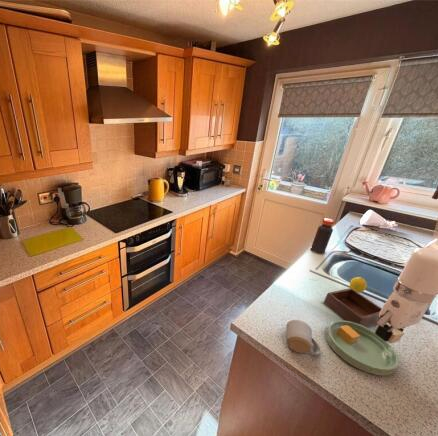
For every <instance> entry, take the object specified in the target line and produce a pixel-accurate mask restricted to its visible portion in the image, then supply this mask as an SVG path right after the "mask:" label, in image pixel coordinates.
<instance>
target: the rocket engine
mask: <svg viewBox="0 0 438 436" xmlns="http://www.w3.org/2000/svg"><path fill="white" fill-rule="evenodd" d="M359 224H360V225H363V226H370V227H377V228H380V229H387V230H391V231H394V232H395V231H396V228H395V227H398V225H399V224H397V223H396V221H395V220H393V221H387V220H386V218H384V217H382V216H381V215H380V214H378V213H377V212H375V211H374V210H372V209H368V210H367V211H366V212H364V214H363V215H362V217H361V218H360V221H359Z"/></svg>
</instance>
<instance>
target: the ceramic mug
mask: <svg viewBox="0 0 438 436" xmlns="http://www.w3.org/2000/svg"><path fill="white" fill-rule="evenodd" d="M285 328H286V330H285V331H286V332H285V333H286V334H285V335H286V338H285V339H286V344H287V346H288V348H290V349H291V350H293V352H296V353H300V354H307V353H308V354H310V355H312V356H318V355H320V353H321V347H320V345H319V343H318V342H317V340H315V339H314V338H313V331H312V330H313V329H312V328H311V327H310V325H309V324H308V323H306V322H304V321H302V320H299V319H291V320H289V321H288V322H287V323H286V327H285ZM312 346H314V348H315V351H313V350H312Z"/></svg>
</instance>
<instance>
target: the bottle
mask: <svg viewBox="0 0 438 436" xmlns="http://www.w3.org/2000/svg"><path fill="white" fill-rule="evenodd" d="M334 223H335V220H333V219H330V218H323V219H322V222H321V224H320V225H319V226H318V227H317V229H316V233H315V235H314V237H313V241H312V244H311V247H312V248H311V247H310V250H311V251H312V252H314V253H316V254H319V255H320V254H321V255H322V254H324V253H326V250H327V247H328V245H329V242H330V239H331V237H332V234H333V232H334V229H333V225H334Z"/></svg>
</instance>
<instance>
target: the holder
mask: <svg viewBox="0 0 438 436" xmlns="http://www.w3.org/2000/svg"><path fill="white" fill-rule="evenodd" d="M323 304H324V305H325V306H326V307H327V308H329V310H331V311H332V312H333V313H335V314H336V315H337V316H338V317H339V318H341V319H342V320H345V321H350V322H354V323H357V324H360V325H362V326H364V327H366V328H368V327H371V326H375V325H378V324H377V322H378V321H379V320H380V319H381V318H380V317H379V313H380V311H381V309H382V307H380V306H379V305H377V304H376V303H374V302H373V301H371V300H370V299H368V298H367V297H365V296H364V295H363V294H361V293H360V292H356V291H355V290H353V289H352V288H350V287H349V288H346V289H340V290H336V291H330V292H327V293H326V296H325V298H324V300H323Z"/></svg>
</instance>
